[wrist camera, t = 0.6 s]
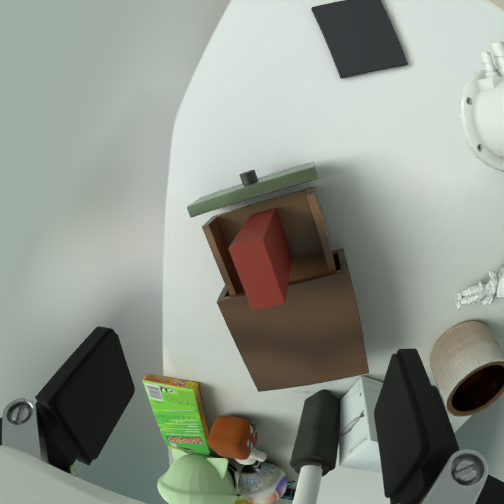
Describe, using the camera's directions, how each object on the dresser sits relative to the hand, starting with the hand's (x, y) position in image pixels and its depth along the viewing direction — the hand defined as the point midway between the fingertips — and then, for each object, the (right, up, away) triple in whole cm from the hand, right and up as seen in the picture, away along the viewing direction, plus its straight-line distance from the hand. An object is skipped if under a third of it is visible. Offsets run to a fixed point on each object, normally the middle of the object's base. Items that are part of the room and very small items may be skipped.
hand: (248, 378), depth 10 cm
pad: (+12, +27, +17) cm, 34 cm away
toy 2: (0, -38, +44) cm, 58 cm away
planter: (+32, -10, +29) cm, 44 cm away
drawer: (+2, +6, +26) cm, 27 cm away
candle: (+12, -20, +36) cm, 43 cm away
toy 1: (-10, -51, +39) cm, 65 cm away
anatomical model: (-1, -47, +45) cm, 65 cm away
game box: (-14, -17, +39) cm, 45 cm away
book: (+2, +6, +25) cm, 26 cm away
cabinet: (+6, -4, +31) cm, 31 cm away
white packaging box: (+18, -19, +34) cm, 43 cm away
